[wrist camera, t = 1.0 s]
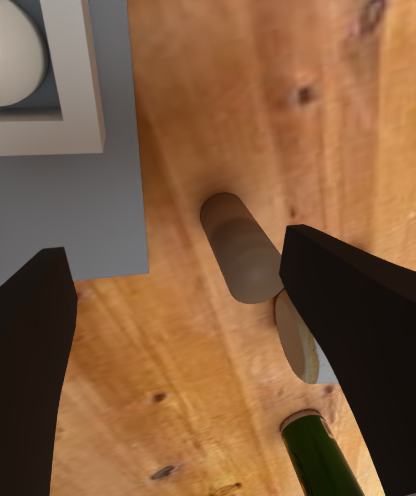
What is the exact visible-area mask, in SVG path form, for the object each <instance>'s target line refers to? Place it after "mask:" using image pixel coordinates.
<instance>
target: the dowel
mask: <svg viewBox="0 0 416 496" xmlns="http://www.w3.org/2000/svg"><path fill="white" fill-rule="evenodd" d="M200 221H201V224H202V226H203V229H204V231H205V234H206V236H207V238H208V241H209V243H210V245H211V248H212V250H213V253H214V255H215V257H216V260H217V262H218V265H219V267H220V269H221V272H222V274H223V276H224V279H225V281H226V284H227V286H228V288H229V291H230V293H231V295H232V296H233V297H234V298H235V299H236V300H238V301H239V302H242V303H246V304H257V303H262V302H265V301H267V300H269V299H271V298H273V297H274V296H276V295H277V294H278V293H279V292H280V291H281V290H282V289H283V288H284V285H283V283H282V281H281V278H280V276H279V269H280V263H281V257H282V256H281V254H280V253H279V252H278V250H277V249H276V248H275V246H274V245H273V243H272V242H271V241H270V239H269V238H268V237H267V235H266V234H265V232H264V231H263V230H262V228H261V227H260V226H259V224H258V223H257V221H256V220H255V219H254V217H253V216H252V215H251V213H250V212H249V210H248V209H247V208H246V206H245V205H244V204H243V202H242V201H241V200H240V198H238V197H237V196H236V195H234V194H231V193H220V194H216V195H214V196H212V197H211V198H209V199H208V200H207V201H206V202H205V203H204V205H203V206H202V208H201V211H200Z"/></svg>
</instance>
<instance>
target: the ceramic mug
mask: <svg viewBox="0 0 416 496" xmlns="http://www.w3.org/2000/svg"><path fill="white" fill-rule="evenodd" d="M275 315H276V323H277V328H278V333H279V337H280V341H281V344H282V347H283V350H284V353H285V355H286V358H287V360H288V362H289V364H290V366H291V368H292V370H293V371H294V373H295V374H296V375H297V377H298V378H300V379H301V380H303V381H304V382H306V383H309V384H328V383H337V382H338V380H337V378H336V376H335V374H334V372H333V370H332V368H331V366H330V364H329V362H328V360H327V358H326V356H325V355H324V353H323V351H322V349H321V348H320V346H319V345H318V343H317V342H316V340H315V338H314V337H313V335H312V334H311V332H310V330H309V329H308V327H307V326H306V324H305V323H304V321H303V319H302V318H301V316H300V315H299V313H298V311H297V310H296V308H295V307H294V305H293V303H292V302H291V300H290V298H289V296H288V294H287V292H286V290H283V291H281V293H280V294H279V296H278V298H277V300H276V305H275Z"/></svg>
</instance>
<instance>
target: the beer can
mask: <svg viewBox="0 0 416 496" xmlns="http://www.w3.org/2000/svg"><path fill="white" fill-rule="evenodd" d="M281 436H282V439H283V442H284V444H285V447H286V449H287V452H288V454H289V457H290V459H291V462H292V464H293V467H294V470H295V472H296V475H297V477H298V480H299V482H300V485H301V487H302V490H303V492H304V495H305V496H365V495H364V493H363V491H362V489H361V487H360V486H359V484H358V482H357V480H356V478H355V476H354V474H353V472H352V470H351V468H350V467H349V465H348V463H347V461H346V459H345V457H344V455H343V453H342V451H341V449H340V448H339V446H338V444H337V442H336V440H335V438H334V436H333V434H332V432H331V430H330V429H329V427H328V425H327V423H326V421H325V419H324V418H323V417H322V416H321V415H320V414H319V413H318V412H316V411H314V410H305V411H301V412H298V413H295V414H293V415H292V416H290V417H289V418H287V419H286V420H285V421H284V422H283V424H282V427H281Z"/></svg>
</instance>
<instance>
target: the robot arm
mask: <svg viewBox="0 0 416 496" xmlns="http://www.w3.org/2000/svg"><path fill="white" fill-rule="evenodd" d="M279 276H280V278H281V281H282V283H283V285H284V288H285V290H286V292H287V294H288V296H289V298H290V300H291V302H292V303H293V305H294V307H295V308H296V310H297V311H298V313H299V315H300V316H301V318H302V319H303V321H304V323H305V324H306V326H307V327H308V329H309V330H310V332H311V334H312V335H313V337H314V338H315V340H316V342H317V343H318V345H319V346H320V348H321V349H322V351H323V353H324V355H325V356H326V358H327V360H328V362H329V364H330V366H331V368H332V370H333V372H334V374H335V376H336V378H337V380H338V382H339V384H340V386H341V388H342V391H343V393H344V395H345V397H346V399H347V402H348V404H349V406H350V408H351V410H352V413H353V415H354V417H355V419H356V422H357V424H358V427H359V429H360V431H361V434H362V436H363V438H364V441H365V443H366V446H367V448H368V450H369V453H370V456H371V458H372V461H373V464H374V466H375V469H376V471H377V474H378V477H379V479H380V482H381V485H382V487H383V490H384V493H385V496H416V271H413V270H410V269H407V268H404V267H401V266H399V265H396V264H393V263H391V262H388V261H386V260H383V259H381V258H379V257H376V256H374V255H371V254H369V253H367V252H365V251H362V250H360V249H358V248H356V247H354V246H351V245H349V244H347V243H345V242H343V241H341V240H339V239H337V238H334V237H332V236H330V235H328V234H326V233H324V232H322V231H319V230H317V229H315V228H312V227H310V226H307V225H304V224H300V225H290V226H287V227H286V233H285V239H284V245H283V251H282V257H281V263H280V269H279ZM77 301H78V298H77V294H76V290H75V286H74V283H73V279H72V275H71V271H70V267H69V264H68V260H67V256H66V252H65V248H64V247H54V248H44V249H41V250H40V251H39V252H38V253H36V254H35V255H34V256H33V257H32V258H31V259H30V260H29V261H28V262H27V263H25V264H24V265H23V266H22V267H21V268H20V269H19V270H18V271H17V272H16V273H15V274H13V275H12V276H11V277H10V278H9V279H8V280H7V281H6V282H5V283H3V284H2V285H1V286H0V496H49V494H50V481H51V471H52V460H53V450H54V440H55V431H56V422H57V414H58V406H59V401H60V395H61V390H62V386H63V381H64V377H65V372H66V368H67V364H68V359H69V355H70V350H71V346H72V341H73V336H74V332H75V327H76V315H77Z"/></svg>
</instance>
